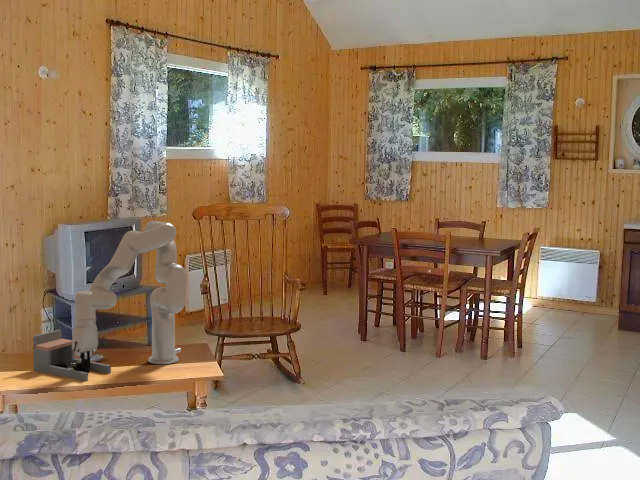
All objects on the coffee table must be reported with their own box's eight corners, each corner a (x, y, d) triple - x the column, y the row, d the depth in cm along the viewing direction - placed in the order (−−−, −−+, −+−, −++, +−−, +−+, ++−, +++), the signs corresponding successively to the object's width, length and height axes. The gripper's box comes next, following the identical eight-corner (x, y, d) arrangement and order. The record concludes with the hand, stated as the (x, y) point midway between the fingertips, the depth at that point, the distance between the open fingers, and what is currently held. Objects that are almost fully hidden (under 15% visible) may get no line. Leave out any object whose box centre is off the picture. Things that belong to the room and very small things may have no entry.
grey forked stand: (59, 362, 311) (59, 329, 309) (110, 372, 298) (110, 338, 296) (33, 370, 299) (33, 336, 297) (85, 381, 286) (85, 345, 284)
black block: (87, 377, 292) (87, 366, 292) (68, 378, 291) (68, 366, 290) (92, 368, 304) (91, 357, 304) (73, 369, 303) (73, 358, 303)
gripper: (92, 318, 301) (92, 362, 303) (64, 324, 288) (64, 371, 289) (106, 320, 297) (106, 365, 299) (78, 327, 284) (78, 374, 286)
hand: (85, 367), depth 294 cm, fingers closed
